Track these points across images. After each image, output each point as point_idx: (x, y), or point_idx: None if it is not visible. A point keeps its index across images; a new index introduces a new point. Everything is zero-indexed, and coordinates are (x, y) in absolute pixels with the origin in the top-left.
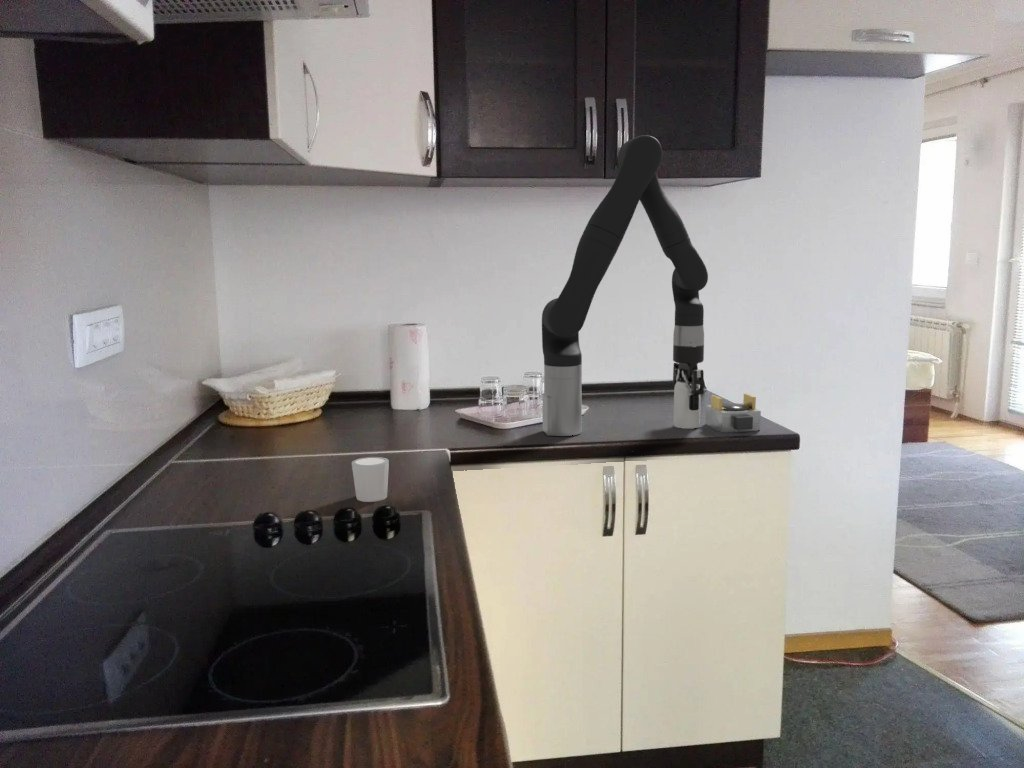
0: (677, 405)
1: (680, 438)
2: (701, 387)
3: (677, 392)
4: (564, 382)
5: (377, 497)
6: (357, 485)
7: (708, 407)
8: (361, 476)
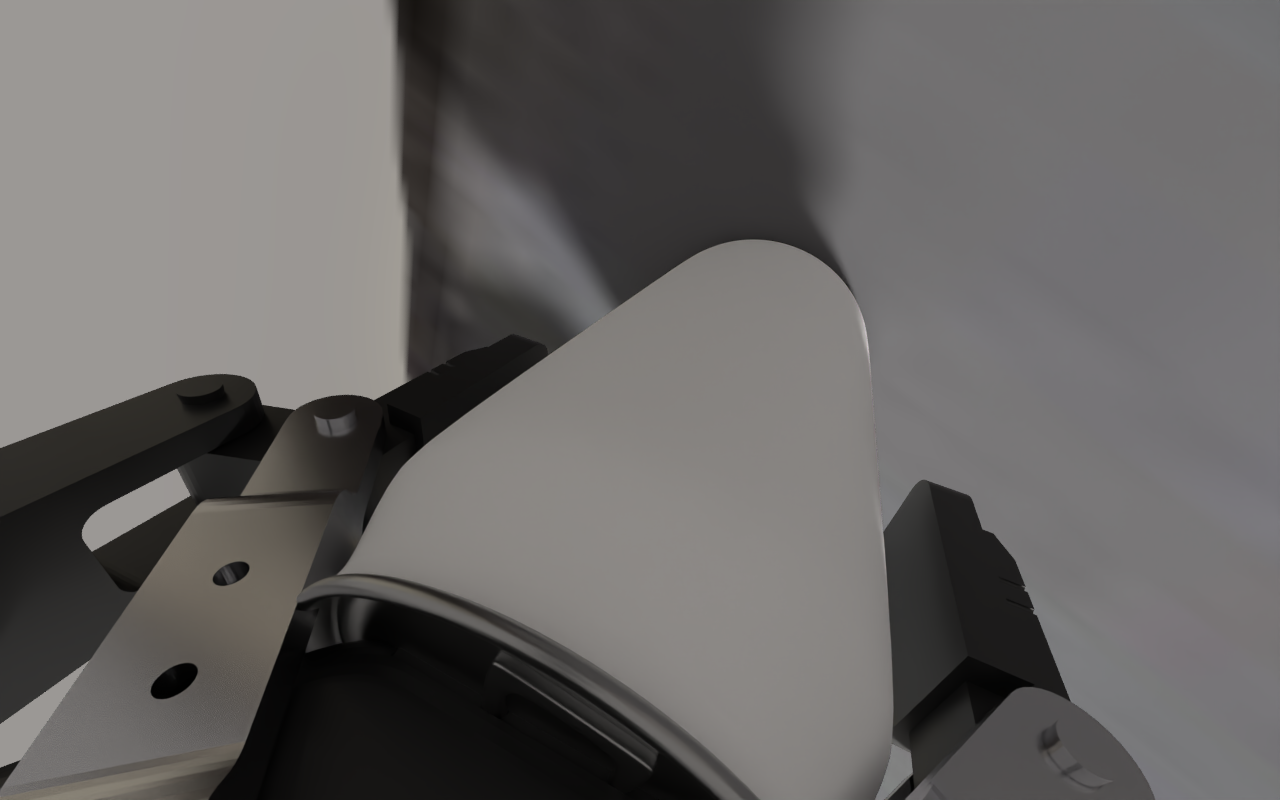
0: (668, 292)
1: (438, 46)
2: (151, 525)
3: (585, 373)
4: None
5: None
6: None
7: None
8: None
